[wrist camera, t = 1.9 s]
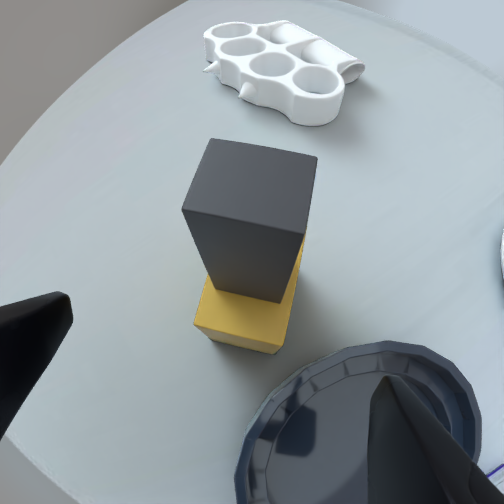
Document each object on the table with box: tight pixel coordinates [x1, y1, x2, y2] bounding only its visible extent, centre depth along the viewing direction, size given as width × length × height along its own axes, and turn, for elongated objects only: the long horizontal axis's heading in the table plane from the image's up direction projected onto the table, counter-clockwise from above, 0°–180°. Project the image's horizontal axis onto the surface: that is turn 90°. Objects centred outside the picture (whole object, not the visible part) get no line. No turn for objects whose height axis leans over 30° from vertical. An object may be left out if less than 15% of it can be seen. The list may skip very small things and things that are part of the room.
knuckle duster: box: [203, 20, 365, 126], centre depth 27 cm, size 3×18×15 cm
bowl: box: [234, 340, 482, 504], centre depth 14 cm, size 15×15×4 cm
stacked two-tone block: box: [182, 138, 318, 355], centre depth 14 cm, size 6×4×13 cm
